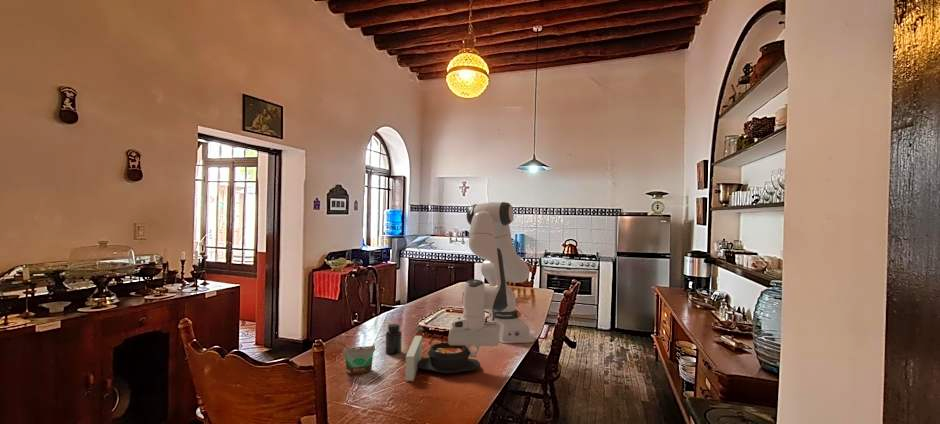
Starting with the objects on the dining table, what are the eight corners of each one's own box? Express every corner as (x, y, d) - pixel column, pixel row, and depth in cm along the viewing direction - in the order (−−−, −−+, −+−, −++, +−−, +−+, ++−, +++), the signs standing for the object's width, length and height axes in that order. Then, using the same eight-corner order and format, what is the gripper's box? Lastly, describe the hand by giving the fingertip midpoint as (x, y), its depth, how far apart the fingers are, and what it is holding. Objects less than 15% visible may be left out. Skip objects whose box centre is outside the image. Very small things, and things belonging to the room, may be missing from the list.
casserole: (479, 361, 184) (480, 341, 184) (480, 378, 165) (481, 356, 165) (420, 360, 184) (420, 340, 184) (414, 377, 165) (414, 354, 165)
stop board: (421, 356, 188) (422, 335, 188) (413, 380, 162) (413, 356, 162) (414, 356, 188) (415, 335, 188) (405, 380, 162) (405, 356, 162)
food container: (345, 379, 162) (346, 352, 162) (342, 373, 168) (342, 347, 168) (378, 373, 168) (379, 347, 168) (374, 368, 173) (374, 343, 173)
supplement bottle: (395, 348, 198) (395, 322, 197) (404, 352, 193) (404, 325, 193) (382, 352, 193) (382, 325, 192) (391, 356, 188) (392, 328, 188)
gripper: (499, 320, 177) (498, 354, 177) (448, 319, 177) (448, 353, 177) (500, 324, 171) (500, 359, 171) (448, 323, 171) (447, 358, 171)
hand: (473, 356), depth 174 cm, fingers closed
